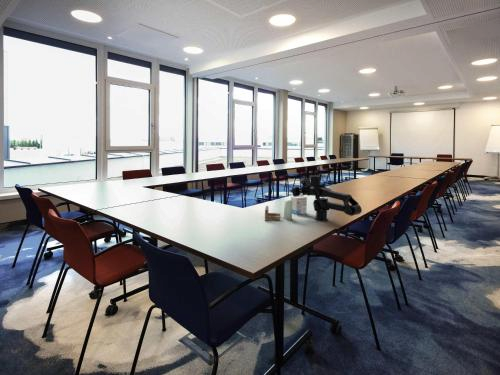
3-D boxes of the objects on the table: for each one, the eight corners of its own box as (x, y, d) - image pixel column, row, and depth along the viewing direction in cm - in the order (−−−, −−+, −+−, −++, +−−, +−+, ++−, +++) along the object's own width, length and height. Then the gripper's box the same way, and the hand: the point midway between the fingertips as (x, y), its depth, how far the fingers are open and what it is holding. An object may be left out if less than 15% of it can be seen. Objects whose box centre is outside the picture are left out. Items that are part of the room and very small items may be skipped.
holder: (280, 216, 207) (280, 206, 206) (280, 221, 194) (280, 210, 193) (266, 215, 208) (266, 205, 207) (264, 220, 195) (265, 209, 194)
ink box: (296, 214, 212) (296, 195, 210) (290, 212, 219) (290, 193, 217) (306, 213, 215) (307, 194, 213) (300, 211, 223) (300, 192, 221)
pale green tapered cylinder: (293, 219, 199) (294, 200, 197) (287, 220, 196) (287, 201, 195) (288, 217, 203) (289, 199, 202) (282, 218, 201) (282, 200, 199)
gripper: (320, 177, 207) (304, 177, 220) (301, 180, 197) (284, 179, 209) (321, 194, 208) (304, 192, 221) (301, 197, 198) (285, 195, 210)
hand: (295, 189), depth 215 cm, fingers open, 9 cm apart
